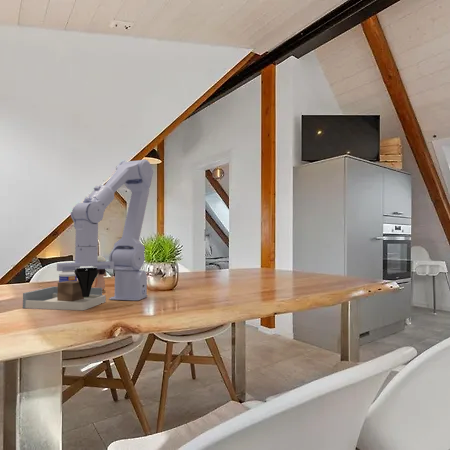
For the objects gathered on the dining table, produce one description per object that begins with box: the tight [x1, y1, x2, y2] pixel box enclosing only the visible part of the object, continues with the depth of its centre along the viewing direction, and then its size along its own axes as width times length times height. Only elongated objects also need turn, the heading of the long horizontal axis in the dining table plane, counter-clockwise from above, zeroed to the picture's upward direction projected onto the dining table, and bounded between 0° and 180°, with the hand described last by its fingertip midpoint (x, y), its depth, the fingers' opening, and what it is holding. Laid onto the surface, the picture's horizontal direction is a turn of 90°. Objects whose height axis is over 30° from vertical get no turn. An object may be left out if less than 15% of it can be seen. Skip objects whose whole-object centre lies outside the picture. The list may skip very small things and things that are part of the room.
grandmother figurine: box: [93, 255, 108, 294], centre depth 127 cm, size 8×4×13 cm, turn 5°
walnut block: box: [57, 280, 84, 301], centre depth 101 cm, size 5×5×5 cm
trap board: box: [22, 286, 107, 311], centre depth 104 cm, size 18×13×4 cm
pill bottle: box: [58, 270, 78, 282], centre depth 120 cm, size 5×5×10 cm
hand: (85, 296), depth 100 cm, fingers closed
